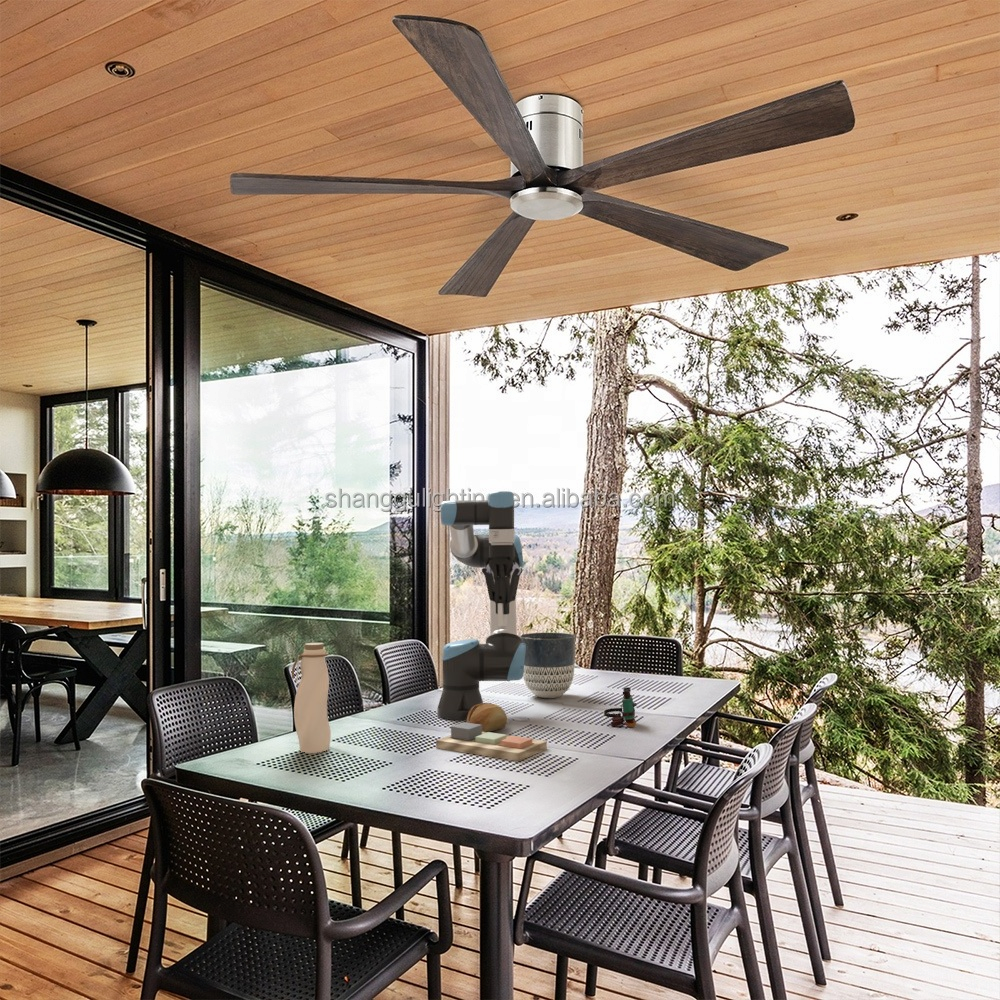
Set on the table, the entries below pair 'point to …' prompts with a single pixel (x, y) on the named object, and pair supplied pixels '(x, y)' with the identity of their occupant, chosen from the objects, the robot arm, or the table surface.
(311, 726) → the water bottle
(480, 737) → the sage tile
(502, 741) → the terracotta tile
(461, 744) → the board
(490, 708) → the bread roll
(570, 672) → the planter
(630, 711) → the binoculars
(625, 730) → the table surface
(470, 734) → the charcoal tile
